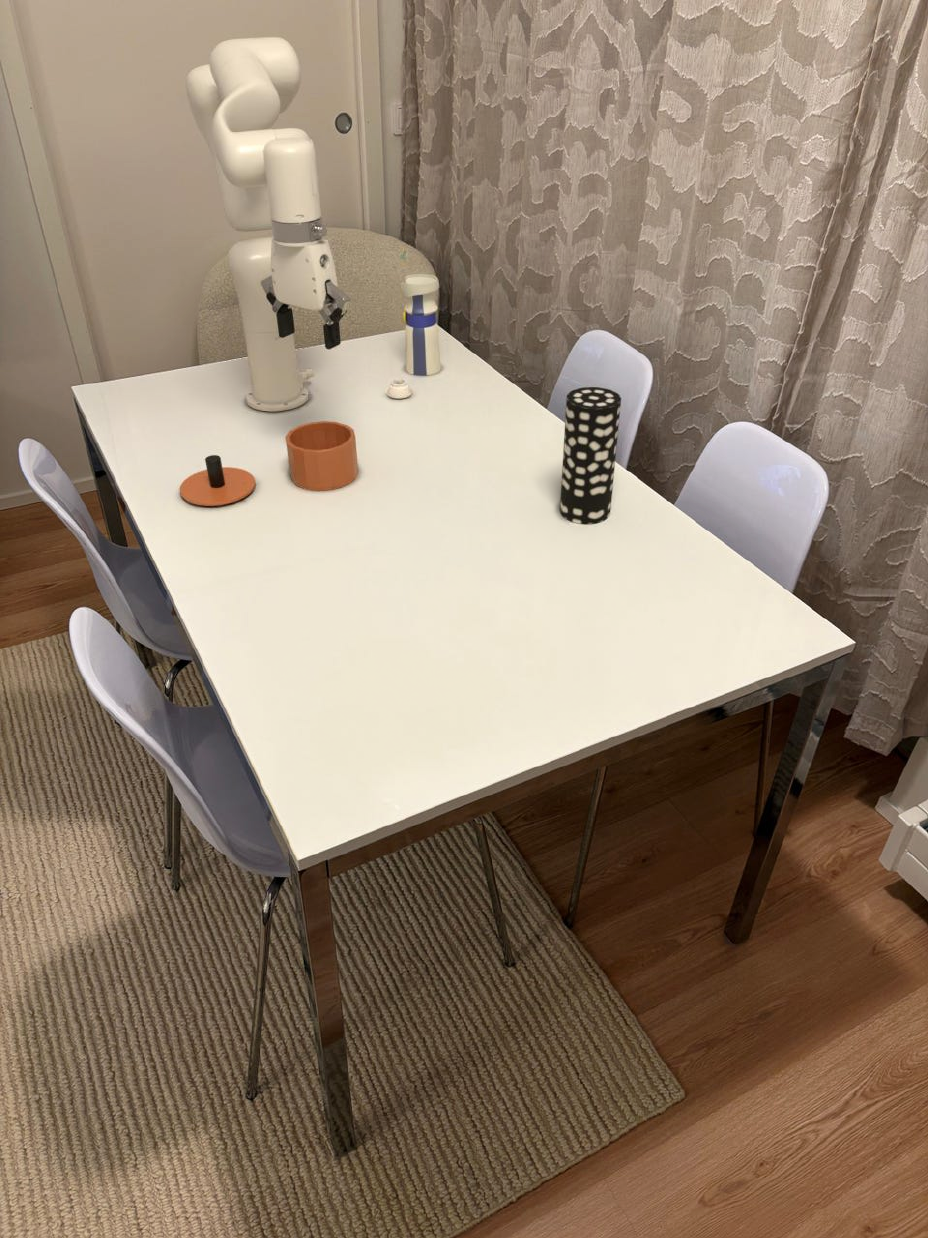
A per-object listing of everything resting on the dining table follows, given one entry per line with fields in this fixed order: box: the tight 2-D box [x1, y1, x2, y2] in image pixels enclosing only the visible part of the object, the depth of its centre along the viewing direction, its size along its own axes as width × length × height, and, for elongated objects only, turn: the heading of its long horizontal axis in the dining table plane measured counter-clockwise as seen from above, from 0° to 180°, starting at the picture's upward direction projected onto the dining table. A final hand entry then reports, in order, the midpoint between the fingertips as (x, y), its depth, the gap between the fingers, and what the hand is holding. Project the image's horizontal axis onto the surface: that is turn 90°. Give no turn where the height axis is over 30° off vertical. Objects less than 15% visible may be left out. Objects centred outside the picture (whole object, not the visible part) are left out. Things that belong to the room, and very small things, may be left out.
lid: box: [179, 454, 257, 507], centre depth 160 cm, size 13×13×6 cm
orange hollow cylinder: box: [285, 420, 359, 492], centre depth 164 cm, size 12×12×8 cm
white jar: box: [386, 378, 413, 400], centre depth 193 cm, size 5×3×5 cm
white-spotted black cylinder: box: [559, 386, 622, 525], centre depth 149 cm, size 8×8×20 cm
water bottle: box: [398, 247, 442, 377], centre depth 197 cm, size 8×9×25 cm
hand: (309, 340), depth 152 cm, fingers open, 9 cm apart
